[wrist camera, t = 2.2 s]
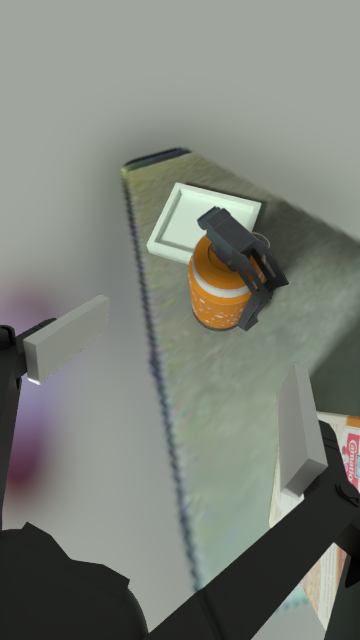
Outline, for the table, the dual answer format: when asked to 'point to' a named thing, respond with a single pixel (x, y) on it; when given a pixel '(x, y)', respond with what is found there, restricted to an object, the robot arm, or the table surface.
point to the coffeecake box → (323, 578)
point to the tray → (193, 220)
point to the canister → (230, 273)
